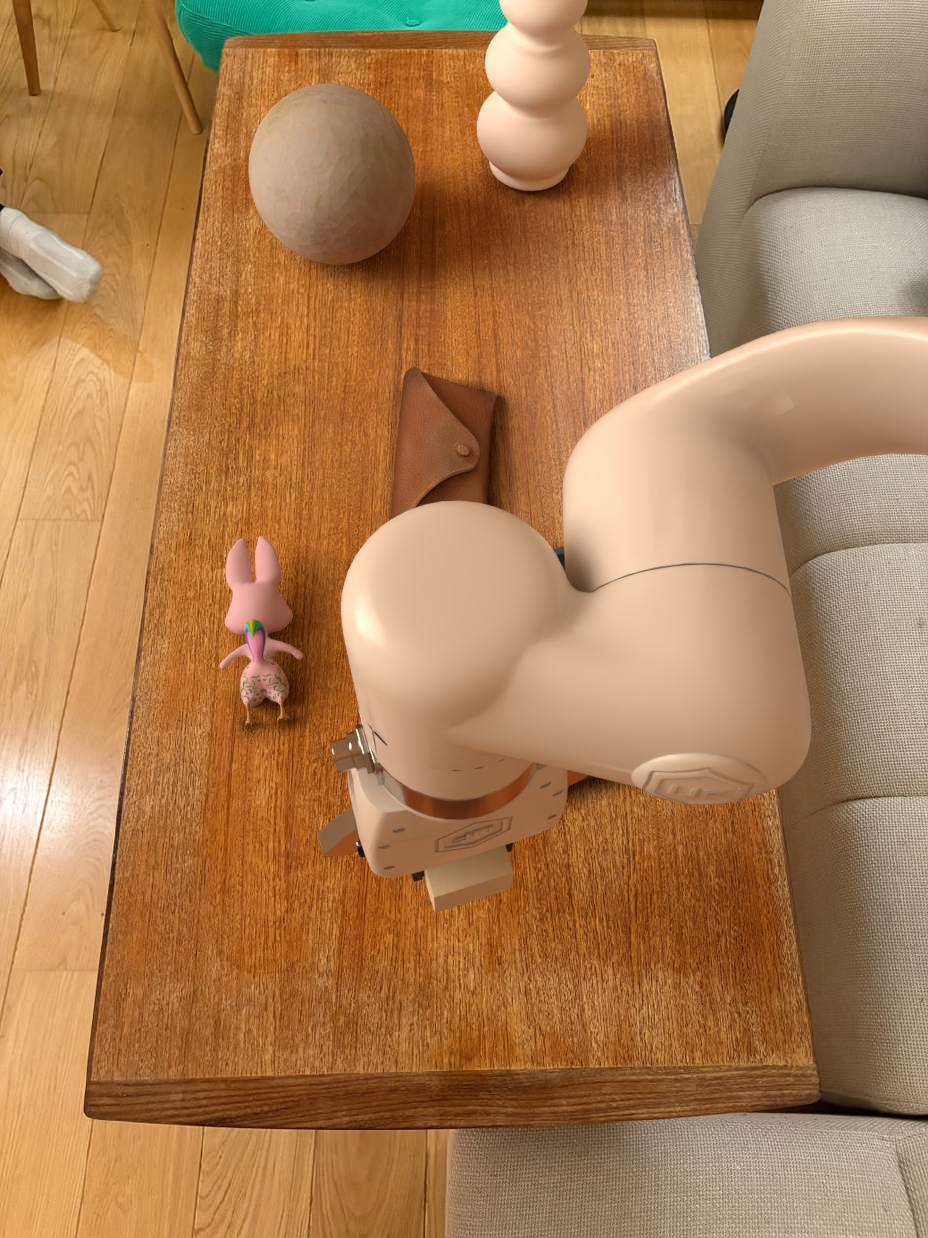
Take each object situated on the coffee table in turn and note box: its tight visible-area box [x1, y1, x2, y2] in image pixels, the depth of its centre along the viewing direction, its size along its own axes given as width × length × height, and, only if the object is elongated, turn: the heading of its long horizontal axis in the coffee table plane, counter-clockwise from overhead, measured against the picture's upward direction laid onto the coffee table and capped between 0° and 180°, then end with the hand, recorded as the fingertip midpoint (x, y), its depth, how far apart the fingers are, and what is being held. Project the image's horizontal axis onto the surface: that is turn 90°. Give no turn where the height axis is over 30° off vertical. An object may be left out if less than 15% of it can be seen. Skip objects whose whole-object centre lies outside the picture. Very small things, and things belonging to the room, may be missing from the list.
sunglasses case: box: [389, 366, 497, 521], centre depth 84 cm, size 18×7×7 cm
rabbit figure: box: [219, 535, 304, 726], centre depth 76 cm, size 6×6×15 cm
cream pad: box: [423, 845, 515, 914], centre depth 57 cm, size 4×7×4 cm, turn 18°
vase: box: [476, 0, 591, 192], centre depth 92 cm, size 11×11×25 cm
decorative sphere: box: [247, 83, 417, 266], centre depth 91 cm, size 15×15×15 cm
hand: (454, 840), depth 58 cm, fingers closed on cream pad, 4 cm apart
